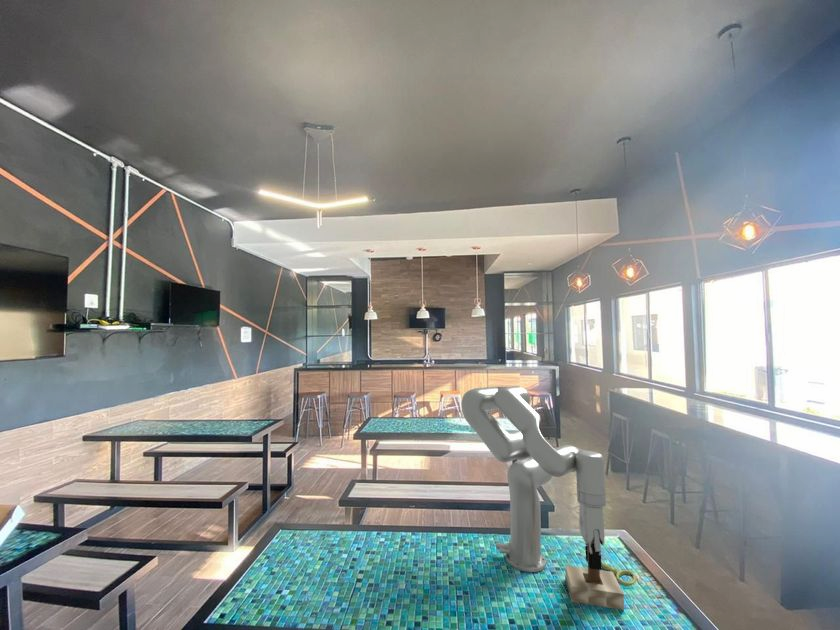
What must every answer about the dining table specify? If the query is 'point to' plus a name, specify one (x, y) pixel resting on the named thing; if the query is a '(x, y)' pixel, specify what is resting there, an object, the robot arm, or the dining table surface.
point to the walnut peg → (593, 570)
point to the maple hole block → (594, 588)
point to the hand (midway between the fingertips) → (593, 564)
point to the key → (619, 573)
